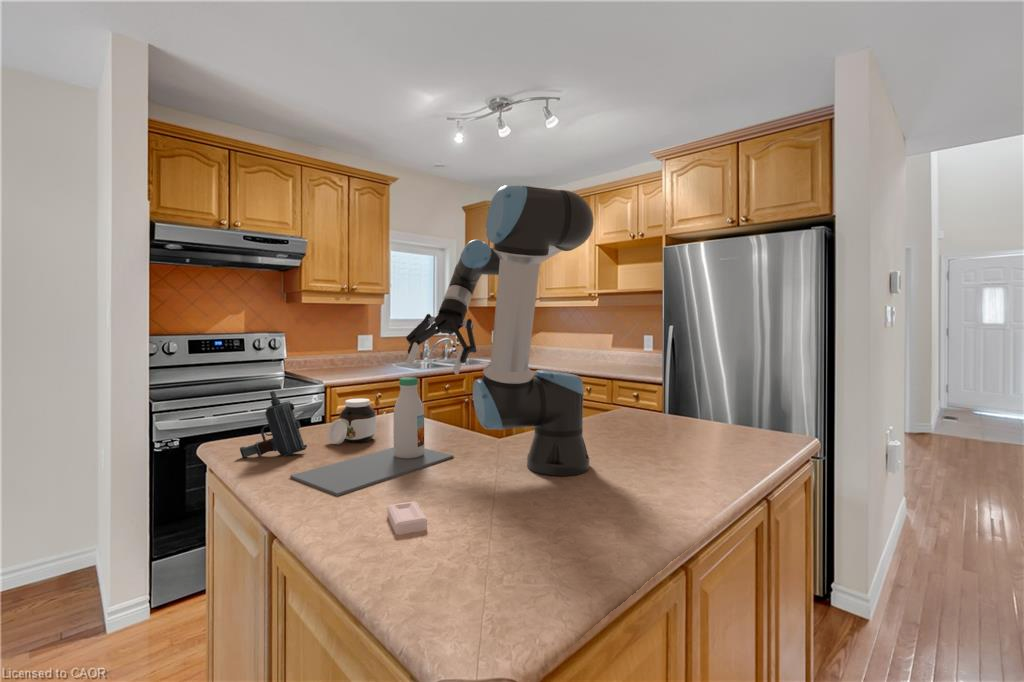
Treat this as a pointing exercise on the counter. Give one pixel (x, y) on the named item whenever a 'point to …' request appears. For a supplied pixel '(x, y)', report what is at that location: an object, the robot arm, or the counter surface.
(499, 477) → the counter surface
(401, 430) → the milk bottle
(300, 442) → the gun
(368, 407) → the spread jar
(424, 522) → the soap bar
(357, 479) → the rubber mat
